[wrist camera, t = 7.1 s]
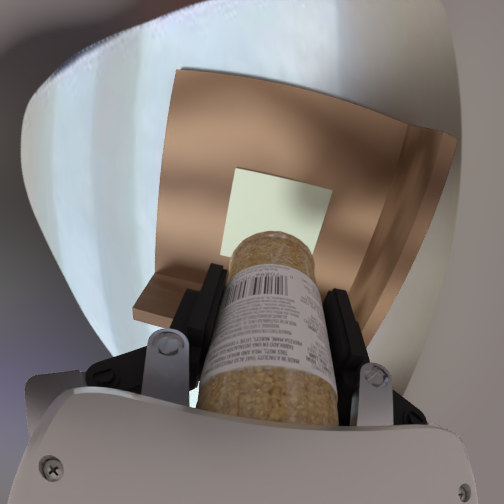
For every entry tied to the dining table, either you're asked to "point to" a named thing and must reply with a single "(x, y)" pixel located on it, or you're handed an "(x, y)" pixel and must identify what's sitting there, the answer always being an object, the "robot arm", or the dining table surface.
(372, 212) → the tray
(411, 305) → the dining table surface
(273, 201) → the sage pad
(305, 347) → the sprinkles bottle
